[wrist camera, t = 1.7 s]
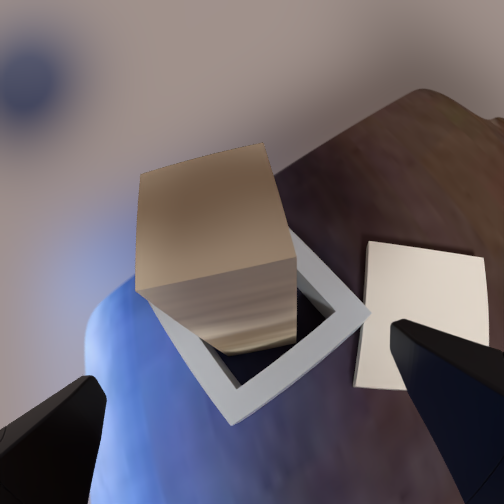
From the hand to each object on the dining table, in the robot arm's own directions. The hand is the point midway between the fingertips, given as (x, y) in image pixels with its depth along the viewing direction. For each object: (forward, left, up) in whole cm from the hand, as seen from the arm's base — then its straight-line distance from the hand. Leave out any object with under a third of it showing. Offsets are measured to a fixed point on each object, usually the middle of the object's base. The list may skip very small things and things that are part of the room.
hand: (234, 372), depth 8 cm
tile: (-8, -9, -11) cm, 16 cm away
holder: (+3, -4, -11) cm, 12 cm away
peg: (+3, -4, -11) cm, 12 cm away
